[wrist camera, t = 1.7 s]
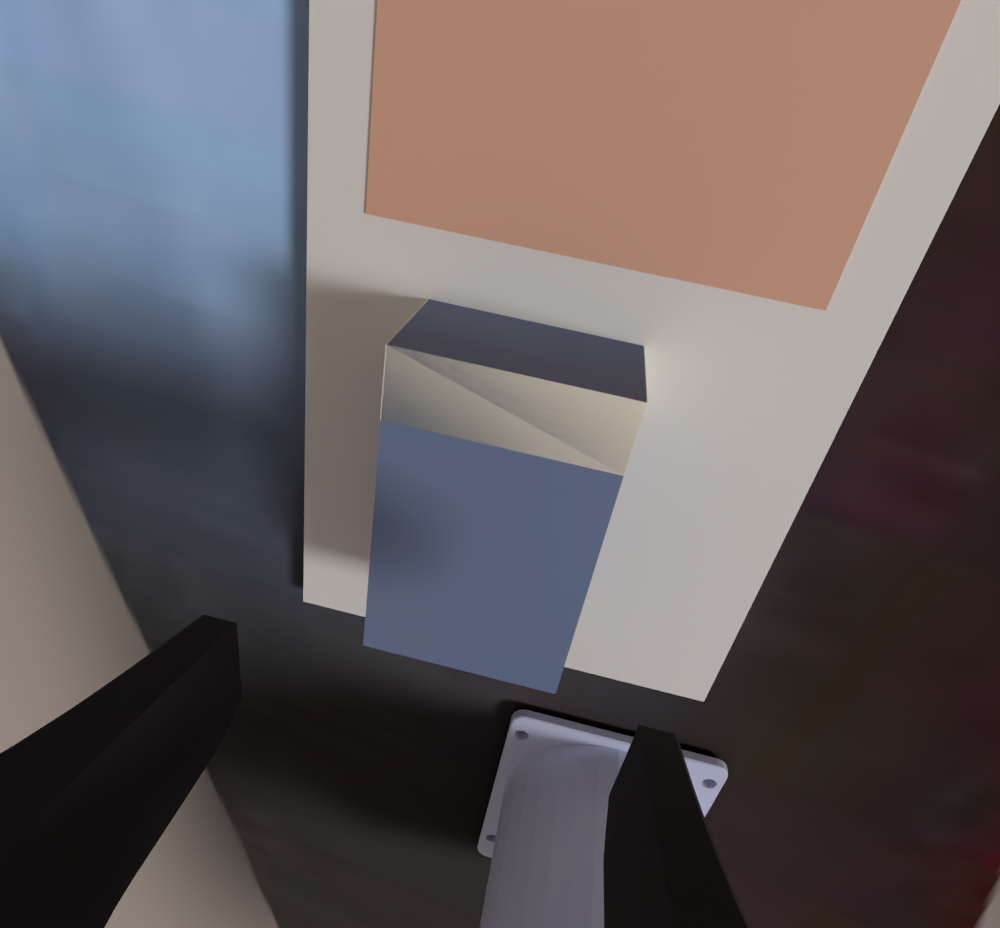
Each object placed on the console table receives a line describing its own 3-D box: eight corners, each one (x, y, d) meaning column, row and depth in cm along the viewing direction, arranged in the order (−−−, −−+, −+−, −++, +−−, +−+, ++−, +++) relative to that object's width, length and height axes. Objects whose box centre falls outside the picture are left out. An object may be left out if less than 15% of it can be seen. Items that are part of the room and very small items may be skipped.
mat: (702, 687, 22) (703, 703, 22) (310, 590, 23) (302, 602, 23) (1124, -184, 11) (1151, -199, 10) (326, -311, 12) (311, -331, 11)
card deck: (566, 609, 21) (556, 694, 18) (399, 568, 21) (362, 645, 18) (644, 346, 16) (647, 402, 13) (428, 298, 17) (385, 344, 14)
